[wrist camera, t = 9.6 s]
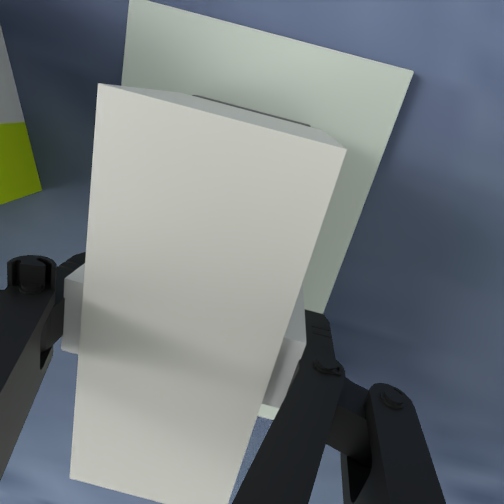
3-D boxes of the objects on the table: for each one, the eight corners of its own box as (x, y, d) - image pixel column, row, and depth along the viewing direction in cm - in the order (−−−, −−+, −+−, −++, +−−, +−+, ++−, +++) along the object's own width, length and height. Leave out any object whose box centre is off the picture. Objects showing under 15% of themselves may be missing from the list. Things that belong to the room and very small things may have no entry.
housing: (244, 387, 20) (222, 518, 14) (140, 359, 20) (69, 478, 14) (323, 130, 15) (347, 149, 9) (181, 92, 15) (98, 82, 9)
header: (97, 367, 23) (27, 462, 17) (133, -2, 15) (29, -72, 9) (282, 417, 23) (279, 530, 17) (410, 72, 15) (490, 50, 9)
